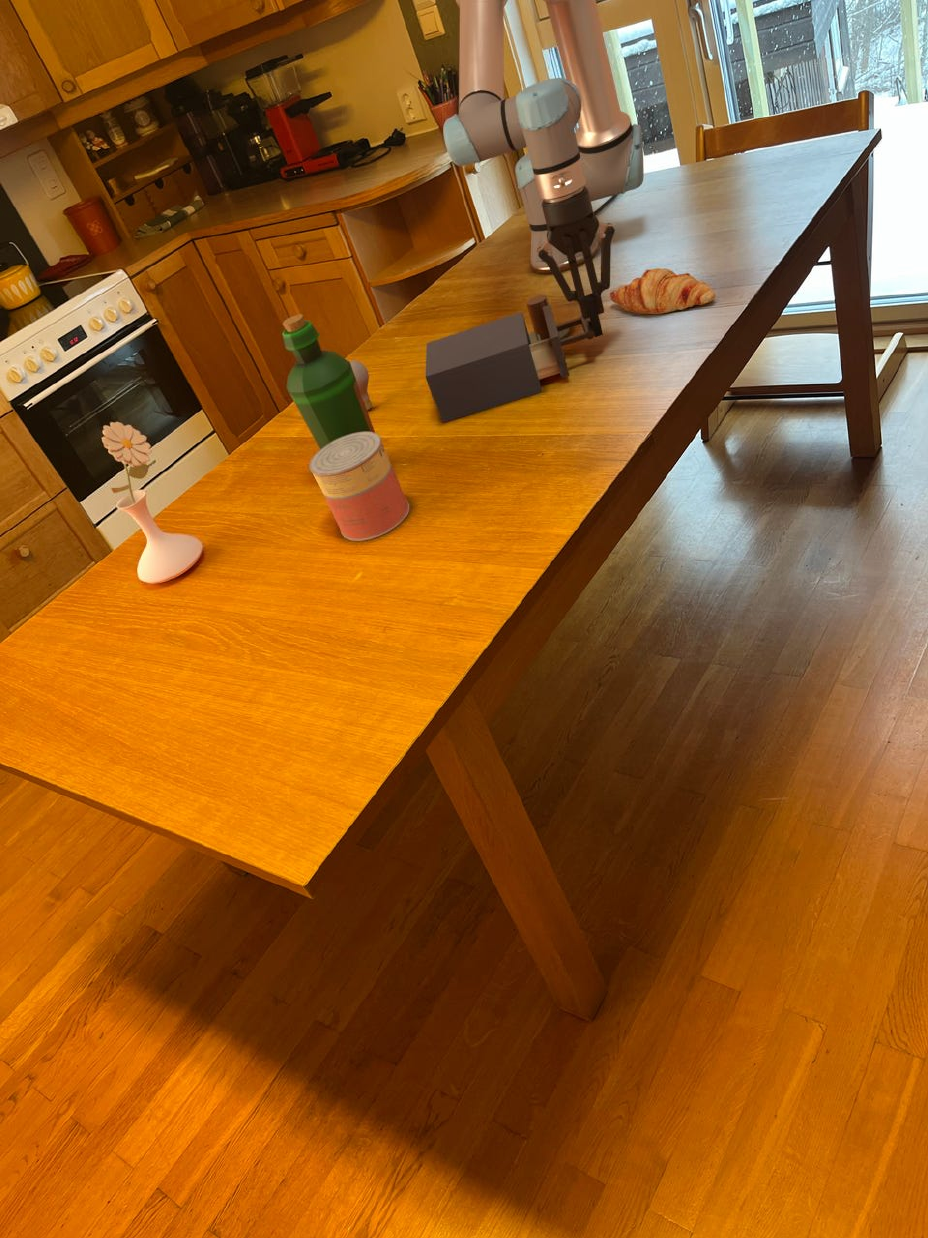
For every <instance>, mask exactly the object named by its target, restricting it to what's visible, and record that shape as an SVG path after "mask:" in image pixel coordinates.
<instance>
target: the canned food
mask: <svg viewBox="0 0 928 1238" xmlns="http://www.w3.org/2000/svg"><path fill="white" fill-rule="evenodd" d="M308 465H309V466H308V467H309V470H310V471H311V473H312V475H313V476H314V479H315V481H316V482H317V484H318V487H319V489H320V491H321V492H322V495H323V496H324V499H325V502H326V503H327V505H328V507H329V509H330V512H331V513H332V515H333V517H334V519H335V522H336V524H337V525H338V527H339V530H340V532H341V535H342V536H343V537H344V538H345V539H347V540H350V541H355V542H362V541H369V540H373V539H375V538H376V539H377V538H378V537H381V536H383V535H385V534H387V533H390V532H391V531H393V530H394V529H395V528H397V527H398V526H399V525H401V523H402V522H403V521H404V520H405V519H406V518H407V516H408V515H409V512H410V503H409V501H408V500H407V498H406V496H405V493H404V491H403V489H402V487H401V484H400V481H399V479H398V477H397V475H396V473H395V470H394V466H393V465H392V462H391V461H390V458H389V456H388V454H387V451H386V449H385V447H384V444H383V442H382V438H381V436H380V435H379V434H378V433H376V432H375V433H374V432H357V433H353V434H349V435H346V436H343V437H341V438H338V439H336V440H334V441H332V442H330V443H329V444H327V445H326V446H324V447H323V448H321V449H320V448H319V450H318V451H317V452H316V453H314V455H312V457H311V459H310V461H309V464H308Z"/></svg>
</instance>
